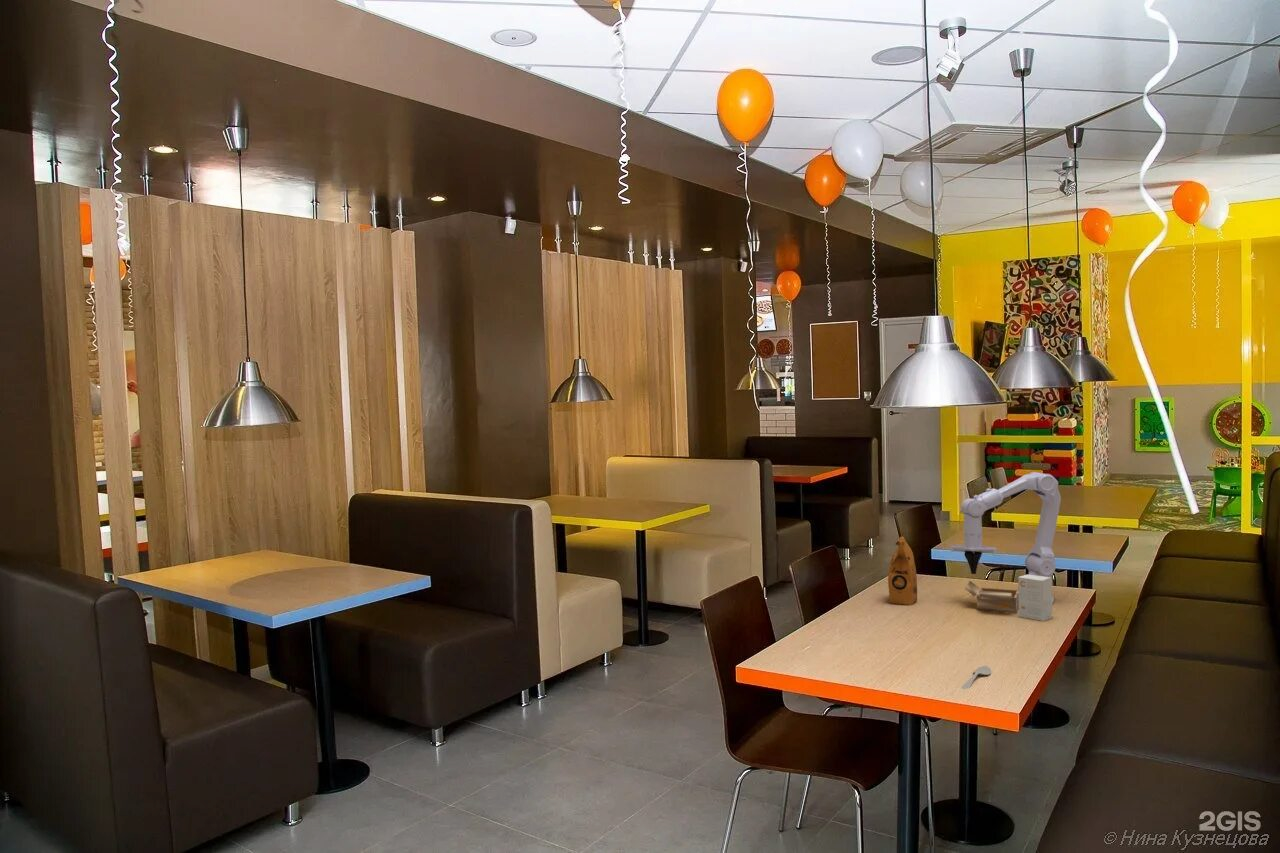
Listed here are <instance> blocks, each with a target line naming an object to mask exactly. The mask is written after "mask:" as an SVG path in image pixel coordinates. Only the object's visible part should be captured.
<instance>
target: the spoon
mask: <svg viewBox="0 0 1280 853" xmlns="http://www.w3.org/2000/svg"><path fill="white" fill-rule="evenodd" d="M972 672H973V675H972V676H971V678H969V679H968V680H967V681H966V682H965V683H963V684H962V685H961V689H962V690H967V689H969V688H971V686H972V685H973V682H974V680H976V678H977V676H988V675H989V676H990V675H991V673H992V670H991V668H990V667H989V666H988V665H982V666H980V667H978V668H976V669H975V670H973V671H972Z"/></svg>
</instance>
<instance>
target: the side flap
mask: <svg viewBox="0 0 1280 853" xmlns="http://www.w3.org/2000/svg"><path fill="white" fill-rule="evenodd" d="M980 589H981V588H980V587H979V585H976V583H974V582H973V581H971V580H970V581H969V582H968V583H967V584H966V586H965V587H964V590H965V591H966V592H968V593H969V594H970V595H972V596H973V597H977V594H978V592H979V591H980Z"/></svg>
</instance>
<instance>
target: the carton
mask: <svg viewBox="0 0 1280 853" xmlns="http://www.w3.org/2000/svg"><path fill="white" fill-rule="evenodd" d="M980 591H990V592H1004V593H1011V594H1012V601H1005V600H992V599H981V597H980ZM1017 609H1018V610H1019V592H1018V589H1016V590H1015V589H1004V588H1003V589H1001V588H990V587H981V588H980V590H979V591H978V593H977V594H976V611H981V610H984V611H983V612H993V611H996V613H1005V612H1008V614H1017V612H1018V610H1017ZM997 611H998V612H997ZM1009 612H1010V613H1009Z"/></svg>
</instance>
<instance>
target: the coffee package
mask: <svg viewBox="0 0 1280 853" xmlns="http://www.w3.org/2000/svg"><path fill="white" fill-rule="evenodd" d="M895 546H897V548H896V550H895V551H894V553H893V555H892V558H891V560H890V562H889V567H888V578H887V584H888V594H889V595H888V600H889V602H890V604H892V605H902V606H903V605H905V606H913V605H914V603H916V602H917V601H918V580H917V578H918V576H917V568H916V563H915V556H914V552H913V551H912V548H911V546H909V544H908V542H907V540H906V539H905V537H904V536H903V535H902V536H900V537H899V538H898V540H897V541H896V542H895Z"/></svg>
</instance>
